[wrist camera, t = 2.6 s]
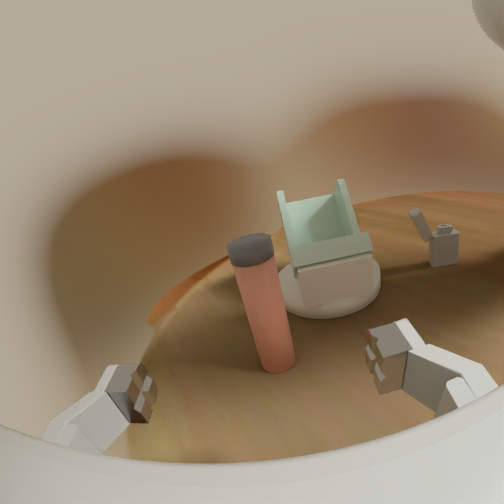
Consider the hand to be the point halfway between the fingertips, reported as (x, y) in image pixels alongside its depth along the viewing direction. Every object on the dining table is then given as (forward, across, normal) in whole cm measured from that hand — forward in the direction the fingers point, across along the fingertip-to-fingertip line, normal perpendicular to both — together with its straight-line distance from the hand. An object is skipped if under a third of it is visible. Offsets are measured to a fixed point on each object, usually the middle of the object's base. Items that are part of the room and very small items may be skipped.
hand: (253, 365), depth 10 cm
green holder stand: (+23, -7, +12) cm, 27 cm away
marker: (+13, 0, +12) cm, 18 cm away
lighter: (+23, -22, +12) cm, 34 cm away
